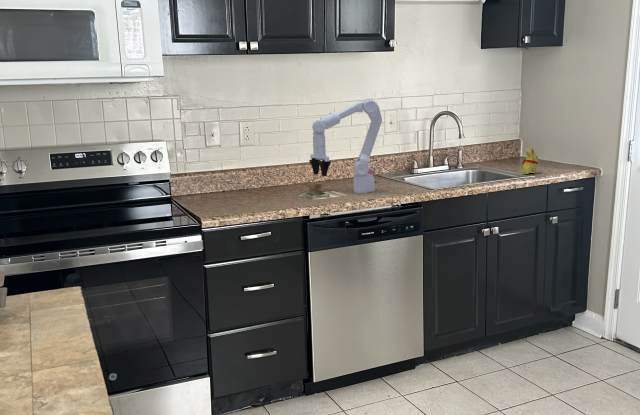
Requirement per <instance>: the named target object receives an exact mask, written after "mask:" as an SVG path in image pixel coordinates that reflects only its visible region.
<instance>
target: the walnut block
mask: <svg viewBox="0 0 640 415" xmlns="http://www.w3.org/2000/svg"><path fill="white" fill-rule="evenodd" d="M322 192H323V183H322V182H316V181H315V182H309V183H308V193H309V195H310V196H316V195H322Z"/></svg>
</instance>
